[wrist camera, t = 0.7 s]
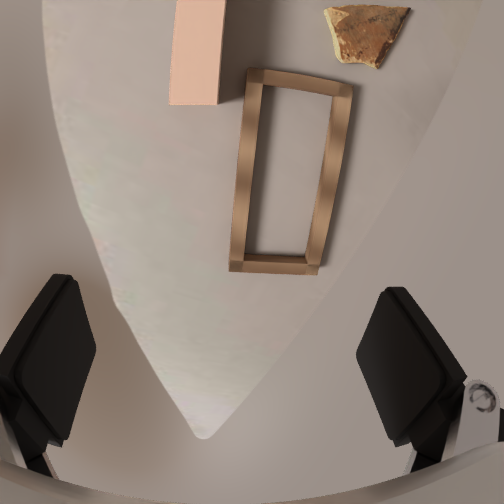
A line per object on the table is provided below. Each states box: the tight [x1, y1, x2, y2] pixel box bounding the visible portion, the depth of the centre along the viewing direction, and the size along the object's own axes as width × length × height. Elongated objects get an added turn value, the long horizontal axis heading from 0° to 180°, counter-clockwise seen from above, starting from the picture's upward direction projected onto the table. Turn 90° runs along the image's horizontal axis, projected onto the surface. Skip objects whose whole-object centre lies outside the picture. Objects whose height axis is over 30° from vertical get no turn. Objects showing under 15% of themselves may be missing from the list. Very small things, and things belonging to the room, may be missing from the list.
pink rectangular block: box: [169, 0, 227, 105], centre depth 21 cm, size 16×4×6 cm, turn 176°
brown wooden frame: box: [229, 68, 354, 275], centre depth 31 cm, size 22×10×2 cm, turn 174°
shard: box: [324, 5, 411, 69], centre depth 24 cm, size 11×8×2 cm
